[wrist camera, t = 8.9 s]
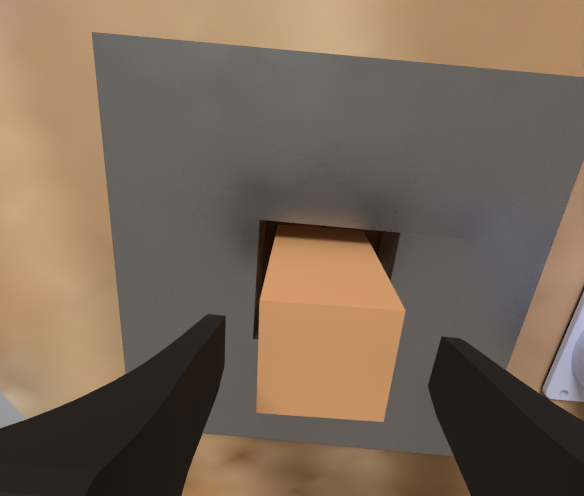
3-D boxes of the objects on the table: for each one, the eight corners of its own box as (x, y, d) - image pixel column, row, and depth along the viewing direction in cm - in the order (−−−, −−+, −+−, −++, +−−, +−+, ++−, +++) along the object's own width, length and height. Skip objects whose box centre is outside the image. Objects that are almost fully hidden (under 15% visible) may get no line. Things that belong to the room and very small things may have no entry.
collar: (556, 87, 15) (613, 79, 13) (451, 414, 22) (473, 458, 19) (130, 48, 15) (91, 32, 13) (153, 387, 22) (130, 426, 19)
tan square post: (363, 230, 18) (405, 310, 11) (353, 305, 20) (383, 421, 12) (277, 224, 18) (259, 300, 11) (274, 299, 20) (256, 412, 12)
